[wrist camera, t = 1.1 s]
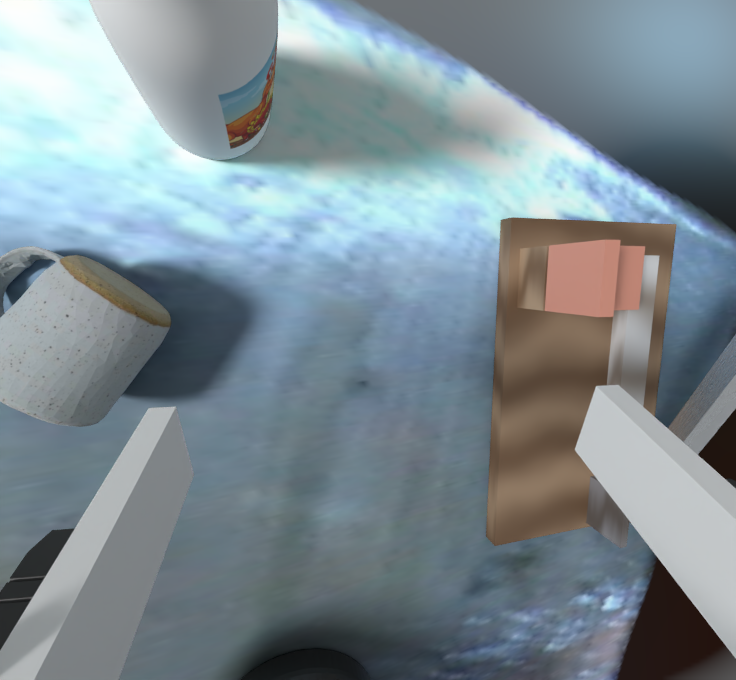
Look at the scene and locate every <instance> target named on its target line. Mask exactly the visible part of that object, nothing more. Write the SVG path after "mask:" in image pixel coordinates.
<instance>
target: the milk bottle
mask: <svg viewBox="0 0 736 680" xmlns="http://www.w3.org/2000/svg"><path fill="white" fill-rule="evenodd" d="M89 1H90V4H91V7H92V9H93V12H94V14H95V16H96V18H97V20H98V22H99V24H100V26H101V27H102V29H103V31H104V33H105V35H106V37H107V39H108V41H109V42H110V44H111V46H112V48H113V49H114V51H115V53H116V55H117V56H118V58H119V60H120V61H121V63H122V65H123V66H124V68H125V70H126V71H127V73H128V75H129V76H130V78H131V80H132V81H133V83H134V85H135V86H136V88H137V89H138V91H139V93H140V94H141V96H142V98H143V99H144V101H145V102H146V104H147V106H148V107H149V109H150V110H151V112H152V114H153V115H154V117H155V118H156V120H157V121H158V123H159V124H160V126H161V127H162V128H163V130H164V131H165V132H166V133H167V135H168V136H169V137H170V138H171V139H172V140H173V141H174V142H175V143H177V144H178V145H179V146H181V147H182V148H183V149H185V150H187V151H188V152H190V153H193V154H195V155H197V156H200V157H203V158H208V159H215V160H225V159H231V158H235V157H238V156H241V155H243V154H245V153H247V152H248V151H250V150H251V149H252V148H254V147H255V146H256V145H257V144H258V142H259V141H260V140H261V138H262V137H263V135H264V133H265V131H266V129H267V126H268V123H269V118H270V113H271V105H272V96H273V85H274V75H275V63H276V50H277V37H278V1H277V0H89Z"/></svg>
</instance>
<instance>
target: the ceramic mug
mask: <svg viewBox="0 0 736 680" xmlns="http://www.w3.org/2000/svg"><path fill="white" fill-rule="evenodd" d="M41 259H52V260H54V261H55V262H56V263H55V264H53V265H52V266H51V267H49V268H48V269H46V270H45V271H44V272H43V273H42V274H41V275H40V276H39V277H38V278H37V279H36V280H35V281H34V282H33V283H32V285H31V286H30V287H29V288H28V289H27V291H26V292H25V293H24V294H23V295H22V297H21V298H20V299H19V300H18V301H17V302H16V303H15V304H14V305H13V306H12V307H11V308H10V309H9V310H8V311H7V312H6V313H4V308H3V296H4V292H5V291H6V289H7V286H8V285H9V284H10V283H11V282H12V281H13V280H14V279H15V278H16V277H17V276H18V275H19V274H20V273H21V272H22V271H24V270H25V269H26V268H28V267H30V266H31V265H32V264H33V263H34V261H37V260H41ZM170 326H171V318H170V314H169V313H168V311H167V310H166V309H165V308H164V307H163V306H162V305H161V304H160V303H159V302H157V301H156V300H155V299H154V298H153V297H151V296H150V295H149V294H147V293H146V292H145V291H143V290H142V289H140V288H139V287H138V286H136V285H135V284H133V283H132V282H130V281H129V280H127V279H125V278H124V277H122V276H121V275H119V274H117V273H116V272H114V271H112V270H111V269H109V268H107V267H106V266H104V265H102V264H100V263H98V262H96V261H94V260H92V259H89V258H87V257H84V256H79V255H73V256H66V257H63V256H61V255H59V254H56V253H54V252H52V251H49V250H46V249H43V248H39V247H33V246H30V247H21V248H17V249H14V250H12V251H10V252H8V253H6V254H5V255H3V256H1V257H0V401H1V402H3V403H4V404H6V405H8V406H10V407H11V408H14V409H16V410H19V411H21V412H23V413H25V414H28V415H30V416H32V417H34V418H37V419H40V420H43V421H46V422H49V423H53V424H58V425H66V426H79V427H82V426H90V425H93V424H96V423H98V422H99V421H100V420H102V419H103V418H104V417H105V416H106V415H107V413H108V412H109V411H110V409H111V408H112V407H113V405H114V404H115V403H116V401H117V400H118V399H119V398H120V396H121V395H122V394H123V392H124V391H125V390H126V389H127V387H128V386H129V385H130V383H131V382H132V381H133V379H134V378H135V377H136V375H137V374H138V373H139V371H140V370H141V369H142V367H143V366H144V365H145V364H146V362H147V361H148V360H149V359H150V357H151V356H152V355H153V353H154V352H155V351H156V350H157V348H158V347H159V346H160V345H161V343H162V342H163V340H164V338H165V336H166V334H167V332H168V331H169V328H170Z"/></svg>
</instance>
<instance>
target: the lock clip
mask: <svg viewBox="0 0 736 680" xmlns="http://www.w3.org/2000/svg"><path fill="white" fill-rule="evenodd" d="M644 254H645V246H620V240H596V241H587V242H578V243H568V244H559V245H550V246H549V254H548V269H547V284H546V299H545V311H549V312H558V313H567V314H575V315H584V316H592V317H613V316H614V310H639V303H640V293H641V284H642V274H643V264H644Z"/></svg>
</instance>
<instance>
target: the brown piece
mask: <svg viewBox="0 0 736 680" xmlns="http://www.w3.org/2000/svg"><path fill="white" fill-rule="evenodd" d="M675 232H676V224H652V223H628V222H604V221H580V220H556V219H532V218H508V219H503V220H501V230H500V252H499V273H498V294H497V315H496V337H495V358H494V379H493V401H492V422H491V443H490V464H489V486H488V507H487V528H486V537H487V538H488V539H489V540H490V541H491V542H492V543H493V544H494V545H495V546H496V545H501V544H506V543H511V542H516V541H521V540H526V539H531V538H536V537H540V536H545V535H550V534H555V533H560V532H565V531H570V530H575V529H580V528H585V527H589V526H591V527H593V528H594V529H595V530H597V531H598V532H599V533H601V534H602V535H603V536H605V537H606V538H608V539H609V540H610V541H612V542H613V543H614V544H616V545H617V546H618V547H620V548H623V547H626V546H627V536H628V527H629V522H630V521H629V520H628V518H627V517H626V516H625V514H624V513H623V512H622V511H621V509H620V508H619V507H618V505H617V504H616V503H615V502H614V500H613V499H612V498H611V496H610V495H609V494H608V492H607V491H606V490H605V489H604V487H603V486H602V485H601V483H600V482H599V481H598V480H597V478H596V477H595V476H594V474H593V473H592V472H591V470H590V469H589V468H588V467H587V465H586V464H585V463H584V461H583V460H582V459H581V457H580V456H579V455H578V454H577V452H576V451H575V447H576V444H577V441H578V438H579V435H580V433H581V430H582V427H583V424H584V421H585V418H586V415H587V412H588V409H589V406H590V403H591V400H592V397H593V394H594V391H595V388H596V386H605V385H619V386H620V387H621V388H622V389H624V390H625V391H626V392H627V393H628V394H629V395H630V396H632V397H633V398H634V399H635V400H636V401H637V402H638V403H639V404H641V405H642V406H643V407H644V408H645V409H646V410H647V411H649V412H650V413H651V414H652V415H653V416H654V417H655V409H656V400H657V391H658V383H659V374H660V365H661V356H662V347H663V338H664V329H665V320H666V312H667V303H668V294H669V285H670V276H671V267H672V258H673V249H674V241H675ZM596 240H620V246H645V254H644V264H643V274H642V284H641V293H640V303H639V310H614V316H613V317H592V316H584V315H575V314H567V313H558V312H549V311H545V299H546V284H547V269H548V254H549V246H550V245H559V244H568V243H578V242H587V241H596ZM630 523H631V522H630Z"/></svg>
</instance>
